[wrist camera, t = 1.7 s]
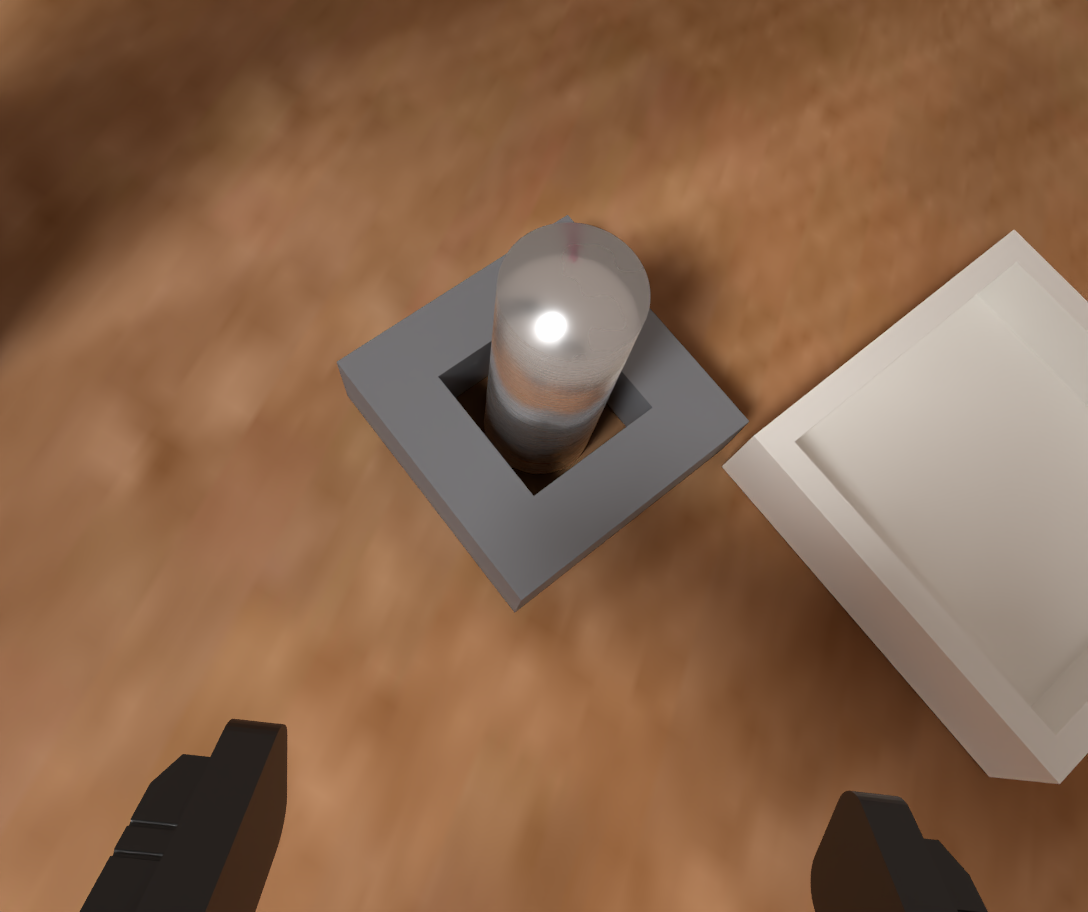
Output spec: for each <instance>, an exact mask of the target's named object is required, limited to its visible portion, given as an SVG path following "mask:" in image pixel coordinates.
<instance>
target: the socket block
mask: <svg viewBox="0 0 1088 912" xmlns="http://www.w3.org/2000/svg"><path fill="white" fill-rule="evenodd" d="M570 222H572V223H574V222H573V221H572V219H571V218H570V217H569V216H568V215H567V216H565V217H563V218H562V219H560V220H559V221H557V222H556V223H570ZM556 223H554V224H556ZM505 256H506V254H505V255H504V256H502V257H501V258H499V259H497V260H496V261H494V262H493V263H491V264H490V265H488V266H486V267H485V268H483V269H482V270H480V271H479V272H477V273H475V274H474V275H472V276H471V277H469V278H468V279H466V280H465V281H463V282H461V283H460V284H458V285H457V286H455V287H454V288H452V289H450V290H449V291H447V292H446V293H444V294H443V295H441V296H439V297H438V298H436V299H435V300H433V301H432V302H430V303H428V304H427V305H425V306H424V307H422V308H421V309H419V310H417V311H416V312H414V313H413V314H411V315H410V316H408V317H406V318H405V319H403V320H402V321H400V322H399V323H397V324H395V325H394V326H392V327H391V328H389V329H388V330H386V331H384V332H383V333H381V334H380V335H378V336H377V337H375V338H373V339H372V340H370V341H369V342H367V343H366V344H364V345H362V346H361V347H359V348H358V349H356V350H355V351H353V352H351V353H350V354H348V355H347V356H345V357H344V358H342V359H340V360H339V361H337V365H338V368H339V371H340V374H341V377H342V380H343V383H344V386H345V389H346V392H347V395H348V397H349V398H350V399H351V401H352V402H353V403H354V405H355V406H356V407H357V408H358V410H359V411H360V412H361V414H362V415H363V416H364V418H365V419H366V420H367V421H368V423H369V424H370V425H371V427H372V428H373V429H374V430H375V432H376V433H377V434H378V436H379V437H380V438H381V440H382V441H383V442H384V443H385V445H386V446H387V447H388V449H389V450H390V451H391V453H392V454H393V455H394V456H395V458H396V459H397V460H398V462H399V463H400V464H401V466H402V467H403V468H404V469H405V471H406V472H407V473H408V475H409V476H410V477H411V479H412V480H413V481H414V482H415V484H416V485H417V486H418V488H419V489H420V490H421V492H422V493H423V494H424V495H425V497H426V498H427V499H428V501H429V502H430V503H431V505H432V506H433V507H434V508H435V510H436V511H437V512H438V514H439V515H440V516H441V518H442V519H443V520H444V521H445V523H446V524H447V525H448V527H449V528H450V529H451V530H452V532H453V533H454V534H455V536H456V537H457V538H458V540H459V541H460V542H461V543H462V545H463V546H464V547H465V549H466V550H467V551H468V553H469V554H470V555H471V556H472V558H473V559H474V560H475V562H476V563H477V564H478V566H479V567H480V568H481V569H482V571H483V572H484V573H485V575H486V576H487V577H488V579H489V580H490V581H491V582H492V584H493V585H494V586H495V588H496V589H497V590H498V592H499V593H500V594H501V595H502V597H503V598H504V599H505V601H506V602H507V603H508V605H509V606H510V607H511V608H512V610H513V611H514V612H516V611H517V610H519V609H520V608H521V607H522V606H524V605H525V604H526V603H527V602H529V601H530V600H531V599H532V598H534V597H535V596H536V595H538V594H539V593H540V592H541V591H543V590H544V589H545V588H546V587H548V586H549V585H550V584H552V583H553V582H554V581H555V580H557V579H558V578H559V577H560V576H562V575H563V574H564V573H565V572H567V571H568V570H569V569H571V568H572V567H573V566H574V565H576V564H577V563H578V562H579V561H581V560H582V559H583V558H585V557H586V556H587V555H588V554H590V553H591V552H592V551H593V550H595V549H596V548H597V547H598V546H600V545H601V544H602V543H604V542H605V541H606V540H607V539H609V538H610V537H611V536H612V535H614V534H615V533H616V532H618V531H619V530H620V529H621V528H623V527H624V526H625V525H626V524H628V523H629V522H630V521H631V520H633V519H634V518H635V517H637V516H638V515H639V514H640V513H642V512H643V511H644V510H645V509H647V508H648V507H649V506H651V505H652V504H653V503H654V502H656V501H657V500H658V499H659V498H661V497H662V496H663V495H664V494H666V493H667V492H668V491H670V490H671V489H672V488H673V487H675V486H676V485H677V484H678V483H680V482H681V481H682V480H684V479H685V478H686V477H687V476H689V475H690V474H691V473H692V472H694V471H695V470H696V469H697V468H699V467H700V466H701V465H703V464H704V463H705V462H706V461H708V460H709V459H710V458H711V457H713V456H714V455H715V454H717V453H718V452H719V451H720V450H722V449H723V448H724V447H725V446H726V445H727V444H728V443H729V442H730V441H731V440H732V439H733V438H734V437H735V436H736V435H737V433H738V432H739V431H740V430H741V429H742V428H743V427H744V426H745V425H746V424H747V423H748V422H749V420H748V419H747V418H746V417H745V416H744V415H743V414H742V412H741V411H740V410H739V409H738V408H737V407H736V406H735V404H734V403H733V402H732V401H731V400H730V399H729V398H728V397H727V395H726V394H725V393H724V392H723V391H722V390H721V389H720V387H719V386H718V385H717V384H716V383H715V382H714V381H713V379H712V378H711V377H710V376H709V375H708V374H707V373H706V372H705V370H704V369H703V368H702V367H701V366H700V365H699V364H698V362H697V361H696V360H695V359H694V358H693V357H692V356H691V355H690V353H689V352H688V351H687V350H686V349H685V348H684V347H683V345H682V344H681V343H680V342H679V341H678V340H677V339H676V337H675V336H674V335H673V334H672V333H671V332H670V331H669V330H668V328H667V327H666V326H665V325H664V324H663V323H662V322H661V320H660V319H659V318H658V317H657V316H656V315H655V314H654V313H653V311H652V310H651V309H650V308H649V311H648V315H647V318H646V320H645V322H644V324H643V327H642V329H641V331H640V333H639V335H638V337H637V339H636V341H635V343H634V346H633V348H632V350H631V352H630V354H629V356H628V358H627V360H626V362H625V365H624V367H623V369H622V371H621V373H620V375H619V377H618V379H617V381H616V384H615V386H614V388H613V390H612V392H611V394H610V396H609V398H608V401H607V404H608V405H609V407H610V408H611V409H612V410H613V411H614V413H615V414H616V415H617V416H618V417H619V419H620V420H621V421H622V422H623V423H624V424H625V426H626V428H624V429H623V430H622V431H620V432H619V433H618V434H616V435H615V436H614V437H612V438H611V439H610V440H608V441H607V442H606V443H604V444H603V445H602V446H600V447H599V448H598V449H596V450H595V451H594V452H592V453H591V454H590V455H588V456H587V457H586V458H584V459H583V460H582V461H580V462H579V463H577V464H576V465H575V466H573V467H572V468H571V469H569V470H568V471H567V472H565V473H564V474H563V475H561V476H560V477H559V478H557V479H556V480H555V481H553V482H552V483H551V484H549V485H548V486H547V487H545V488H544V489H543V490H541V491H540V492H539V493H537V494H536V495H535V496H533V494H532V493H531V492H530V491H529V489H528V488H527V487H526V486H525V484H524V483H523V482H522V481H521V479H520V478H519V477H518V476H517V474H516V473H515V472H514V471H513V469H512V468H511V467H510V466H509V465H508V463H507V462H506V461H505V460H504V458H503V457H502V456H501V455H500V453H499V452H498V451H497V450H496V448H495V447H494V446H493V445H492V443H491V442H490V441H489V440H488V438H487V437H486V436H485V435H484V433H483V432H482V431H481V430H480V428H479V427H478V426H477V425H476V423H475V422H474V421H473V420H472V418H471V417H470V416H469V415H468V413H467V412H466V411H465V410H464V408H463V407H462V406H461V405H460V403H459V402H458V401H457V400H456V397H458V396H459V395H461V394H462V393H464V392H465V391H466V390H468V389H469V388H471V387H472V386H474V385H475V384H477V383H478V382H480V381H481V380H483V379H484V378H486V377H487V376H488V374H489V364H490V353H491V343H492V332H493V321H494V311H495V300H496V290H497V279H498V274H499V269H500V267H501V264H502V262H503V260H504V258H505Z"/></svg>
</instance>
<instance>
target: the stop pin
mask: <svg viewBox="0 0 1088 912" xmlns="http://www.w3.org/2000/svg"><path fill="white" fill-rule="evenodd" d="M649 307H650V285H649V281H648V277H647V274H646V272H645V269H644V267H643V265H642V263H641V262H640V260H639V258H638V257H637V256H636V254H635V253H634V252H633V251H632V250H631V249H630V248H629V247H628V246H627V245H626V244H625V243H624V242H623V241H621V240H620V239H619V238H617V237H616V236H614V235H613V234H611V233H609V232H607V231H605V230H603V229H600V228H597V227H594V226H591V225H587V224H582V223H572V222H570V223H556V224H550V225H546V226H543V227H540V228H538V229H535V230H533V231H531V232H530V233H528V234H526V235H525V236H523V237H522V238H521V239H519V240H518V241H517V242H516V243H515V244H514V245H513V246H512V247H511V249H510V250H509V251H508V253H507V254H506V256H505V258H504V260H503V262H502V264H501V267H500V269H499V274H498V279H497V290H496V300H495V311H494V321H493V332H492V343H491V353H490V364H489V374H488V385H487V395H486V406H485V417H484V428H485V433H486V437H487V438H488V440H489V441H490V442H491V443H492V445H493V446H494V447H495V448H496V450H497V451H498V452H499V453H500V455H501V456H502V457H503V458H504V460H505V461H506V462H507V463H508V465H509V466H511V467H513V468H515V469H517V470H519V471H522V472H526V473H531V474H547V473H553V472H556V471H559V470H561V469H563V468H566V467H567V466H569V465H570V464H572V463H573V462H574V461H575V460H576V459H577V458H578V457H579V456H580V455H581V454H582V452H583V451H584V449H585V447H586V445H587V443H588V441H589V439H590V436H591V434H592V432H593V430H594V428H595V426H596V424H597V422H598V420H599V417H600V415H601V413H602V411H603V409H604V407H605V405H606V403H607V401H608V398H609V396H610V394H611V392H612V390H613V388H614V386H615V384H616V381H617V379H618V377H619V375H620V373H621V371H622V369H623V367H624V365H625V362H626V360H627V358H628V356H629V354H630V352H631V350H632V348H633V346H634V343H635V341H636V339H637V337H638V335H639V333H640V331H641V329H642V327H643V324H644V322H645V320H646V318H647V315H648V311H649Z"/></svg>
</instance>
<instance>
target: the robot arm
mask: <svg viewBox="0 0 1088 912" xmlns="http://www.w3.org/2000/svg"><path fill="white" fill-rule="evenodd" d="M286 804H287V727H286V725H283V724H275V723H266V722H257V721H248V720H240V719H231V720H230V721H229V722H228V723H227V725H226V726H225V728H224V730H223V732H222V734H221V736H220V738H219V741H218V743H217V745H216V747H215V749H214V751H213V753H212V755H211V757H204V756H195V755H186V754H183V755H181V756H180V757H179V758H178V759H177V760H176V761H175V762H174V763H172V764H171V765H170V766H169V767H168V768H167V769H166V770H165V771H163V772H162V773H161V774H160V775H159V776H158V777H157V778H156V779H154V780H153V781H152V782H151V783H150V785H149V787H148V789H147V790H146V792H145V794H144V796H143V798H142V799H141V801H140V803H139V805H138V807H137V808H136V810H135V812H134V814H133V816H132V818H131V822H130V825H129V826H127V827H126V828H125V830H124V832H123V834H122V836H121V838H120V839H119V841H118V843H117V845H116V847H115V848H114V854H113V856H110V857H109V859H108V861H107V863H106V865H105V867H104V868H103V870H102V872H101V874H100V876H99V877H98V879H97V881H96V883H95V885H94V887H93V888H92V890H91V892H90V894H89V896H88V897H87V899H86V901H85V903H84V905H83V907H82V908H81V910H80V912H255V911H256V908H257V905H258V902H259V899H260V896H261V893H262V891H263V888H264V885H265V882H266V879H267V876H268V873H269V870H270V868H271V865H272V862H273V859H274V856H275V853H276V850H277V847H278V844H279V840H280V837H281V833H282V828H283V824H284V818H285V812H286ZM811 894H812V900H813V905H814V909H815V912H988V911H987V909H986V907H985V905H984V903H983V901H982V899H981V897H980V895H979V893H978V891H977V889H976V888H975V886H974V884H973V882H972V880H971V878H970V876H969V874H968V873H967V872H966V871H965V870H964V868H963V867H962V866H961V865H960V864H959V863H958V862H957V861H956V860H955V858H954V857H953V856H952V855H951V854H950V853H949V852H948V851H947V849H946V848H945V847H944V846H943V845H942V844H941V843H940V842H939V840H931V839H924V838H923V836H922V834H921V832H920V830H919V828H918V826H917V823H916V821H915V819H914V817H913V815H912V813H911V811H910V809H909V807H908V805H907V804H906V802H905V801H904V800H903V799H902V798H900V797H898V796H890V795H881V794H872V793H863V792H855V791H846V792H844V793H843V794H842V795H841V797H840V799H839V801H838V803H837V805H836V808H835V810H834V812H833V815H832V817H831V819H830V822H829V824H828V827H827V829H826V831H825V834H824V836H823V838H822V841H821V843H820V845H819V848H818V850H817V852H816V855H815V857H814V860H813V864H812V869H811Z"/></svg>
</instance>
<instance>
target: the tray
mask: <svg viewBox="0 0 1088 912" xmlns="http://www.w3.org/2000/svg"><path fill="white" fill-rule="evenodd" d="M722 467H723V469H724V470H725V471H726V472H727V473H728V474H729V475H730V477H731V478H732V479H733V480H734V481H735V482H736V484H737V485H738V486H739V487H740V488H741V489H742V491H743V492H744V493H745V494H746V495H747V496H748V498H749V499H750V500H751V501H752V502H753V503H754V504H755V506H756V507H757V508H758V509H759V510H760V511H761V513H762V514H763V515H764V516H765V517H766V518H767V520H768V521H769V522H770V523H771V524H772V525H773V527H774V528H775V529H776V530H777V531H778V532H779V534H780V535H781V536H782V537H783V538H784V539H785V540H786V542H787V543H788V544H789V545H790V546H791V547H792V549H793V550H794V551H795V552H796V553H797V554H798V556H799V557H800V558H801V559H802V560H803V561H804V563H805V564H806V565H807V566H808V567H809V568H810V570H811V571H812V572H813V573H814V574H815V575H816V576H817V578H818V579H819V580H820V581H821V582H822V583H823V585H824V586H825V587H826V588H827V589H828V590H829V592H830V593H831V594H832V595H833V596H834V597H835V599H836V600H837V601H838V602H839V603H840V604H841V606H842V607H843V608H844V609H845V610H846V611H847V612H848V614H849V615H850V616H851V617H852V618H853V619H854V621H855V622H856V623H857V624H858V625H859V626H860V628H861V629H862V630H863V631H864V632H865V633H866V635H867V636H868V637H869V638H870V639H871V640H872V641H873V643H874V644H875V645H876V646H877V647H878V648H879V650H880V651H881V652H882V653H883V654H884V655H885V657H886V658H887V659H888V660H889V661H890V662H891V664H892V665H893V666H894V667H895V668H896V669H897V671H898V672H899V673H900V674H901V675H902V676H903V677H904V679H905V680H906V681H907V682H908V683H909V684H910V686H911V687H912V688H913V689H914V690H915V691H916V693H917V694H918V695H919V696H920V697H921V698H922V700H923V701H924V702H925V703H926V704H927V705H928V707H929V708H930V709H931V710H932V711H933V712H934V713H935V715H936V716H937V717H938V718H939V719H940V720H941V722H942V723H943V724H944V725H945V726H946V727H947V729H948V730H949V731H950V732H951V733H952V734H953V736H954V737H955V738H956V739H957V740H958V741H959V742H960V744H961V745H962V746H963V747H964V748H965V749H966V751H967V752H968V753H969V754H970V755H971V756H972V758H973V759H974V760H975V761H976V762H977V763H978V765H979V766H980V767H981V768H982V769H983V770H984V772H985V773H986V774H987V775H988V776H989V777H995V778H1005V779H1014V780H1024V781H1034V782H1043V783H1053V784H1060V783H1061V782H1062V781H1063V780H1064V779H1065V778H1066V777H1067V776H1068V774H1069V773H1070V772H1071V771H1072V770H1073V769H1074V768H1075V767H1076V766H1077V764H1078V763H1079V762H1080V761H1081V760H1082V759H1083V758H1084V757H1085V756H1086V754H1087V753H1088V302H1087V301H1086V300H1085V299H1084V298H1083V297H1082V296H1081V295H1080V294H1079V293H1078V292H1077V291H1076V290H1075V289H1074V288H1073V287H1072V286H1071V285H1070V284H1069V283H1068V282H1067V281H1066V280H1065V279H1064V278H1063V277H1062V276H1061V275H1060V274H1059V273H1058V272H1057V271H1056V270H1055V269H1054V268H1053V267H1052V266H1051V265H1050V264H1049V263H1048V262H1047V261H1046V260H1045V259H1044V258H1043V257H1042V256H1041V255H1040V254H1039V253H1038V252H1037V251H1036V250H1035V249H1034V248H1033V247H1032V246H1031V245H1030V244H1028V243H1027V242H1026V241H1025V240H1024V239H1023V238H1022V237H1021V236H1020V235H1019V234H1018V233H1017V232H1016V231H1015V230H1013V231H1011V232H1010V233H1009V234H1008V235H1006V236H1005V237H1004V238H1003V239H1001V240H1000V241H999V242H997V243H996V244H995V245H994V246H992V247H991V248H990V249H989V250H987V251H986V252H985V253H984V254H982V255H981V256H980V257H979V258H977V259H976V260H975V261H974V262H972V263H971V264H970V265H968V266H967V267H966V268H965V269H963V270H962V271H961V272H960V273H958V274H957V275H956V276H955V277H953V278H952V279H951V280H950V281H948V282H947V283H946V284H945V285H943V286H942V287H941V288H939V289H938V290H937V291H936V292H934V293H933V294H932V295H931V296H929V297H928V298H927V299H926V300H924V301H923V302H922V303H921V304H919V305H918V306H917V307H916V308H914V309H913V310H912V311H910V312H909V313H908V314H907V315H905V316H904V317H903V318H902V319H900V320H899V321H898V322H897V323H895V324H894V325H893V326H892V327H890V328H889V329H888V330H887V331H885V332H884V333H883V334H881V335H880V336H879V337H878V338H876V339H875V340H874V341H873V342H871V343H870V344H869V345H868V346H866V347H865V348H864V349H863V350H861V351H860V352H859V353H858V354H856V355H855V356H854V357H852V358H851V359H850V360H849V361H847V362H846V363H845V364H844V365H842V366H841V367H840V368H839V369H837V370H836V371H835V372H834V373H832V374H831V375H830V376H829V377H827V378H826V379H825V380H823V381H822V382H821V383H820V384H818V385H817V386H816V387H815V388H813V389H812V390H811V391H810V392H808V393H807V394H806V395H805V396H803V397H802V398H801V399H800V400H798V401H797V402H796V403H794V404H793V405H792V406H791V407H789V408H788V409H787V410H786V411H784V412H783V413H782V414H781V415H779V416H778V417H777V418H776V419H774V420H773V421H772V422H771V423H769V424H768V425H767V426H765V427H764V428H763V429H762V430H760V431H759V432H758V433H757V434H755V435H754V436H753V437H752V438H751V439H750V440H749V441H748V442H747V443H746V444H745V445H744V446H743V447H742V448H740V449H739V450H738V451H737V452H736V453H735V454H734V455H733V456H732V457H731V458H730V459H729V460H728V461H727V462H726V463H725V464H724V465H723V466H722Z"/></svg>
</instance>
